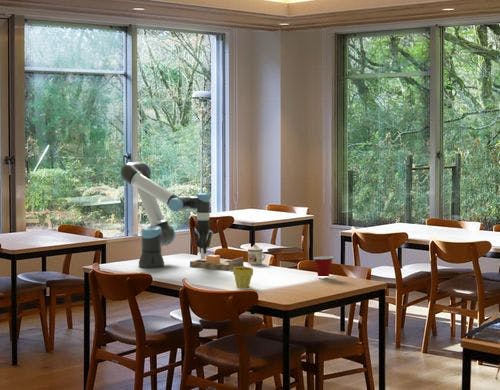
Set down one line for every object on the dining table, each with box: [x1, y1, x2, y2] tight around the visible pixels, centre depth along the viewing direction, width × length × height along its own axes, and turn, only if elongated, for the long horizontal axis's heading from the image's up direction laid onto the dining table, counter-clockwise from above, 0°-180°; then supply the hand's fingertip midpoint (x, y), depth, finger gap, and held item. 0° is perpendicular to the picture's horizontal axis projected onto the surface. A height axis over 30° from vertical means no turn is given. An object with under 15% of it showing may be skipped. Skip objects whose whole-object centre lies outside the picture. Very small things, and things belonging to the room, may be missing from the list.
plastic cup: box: [313, 255, 334, 277], centre depth 510 cm, size 11×11×12 cm
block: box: [205, 254, 221, 263], centre depth 542 cm, size 6×6×4 cm
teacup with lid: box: [247, 244, 266, 266], centre depth 557 cm, size 12×9×12 cm
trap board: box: [189, 256, 245, 271], centre depth 547 cm, size 27×17×6 cm, turn 63°
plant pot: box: [232, 266, 254, 289], centre depth 481 cm, size 10×10×10 cm
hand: (203, 258), depth 546 cm, fingers closed
